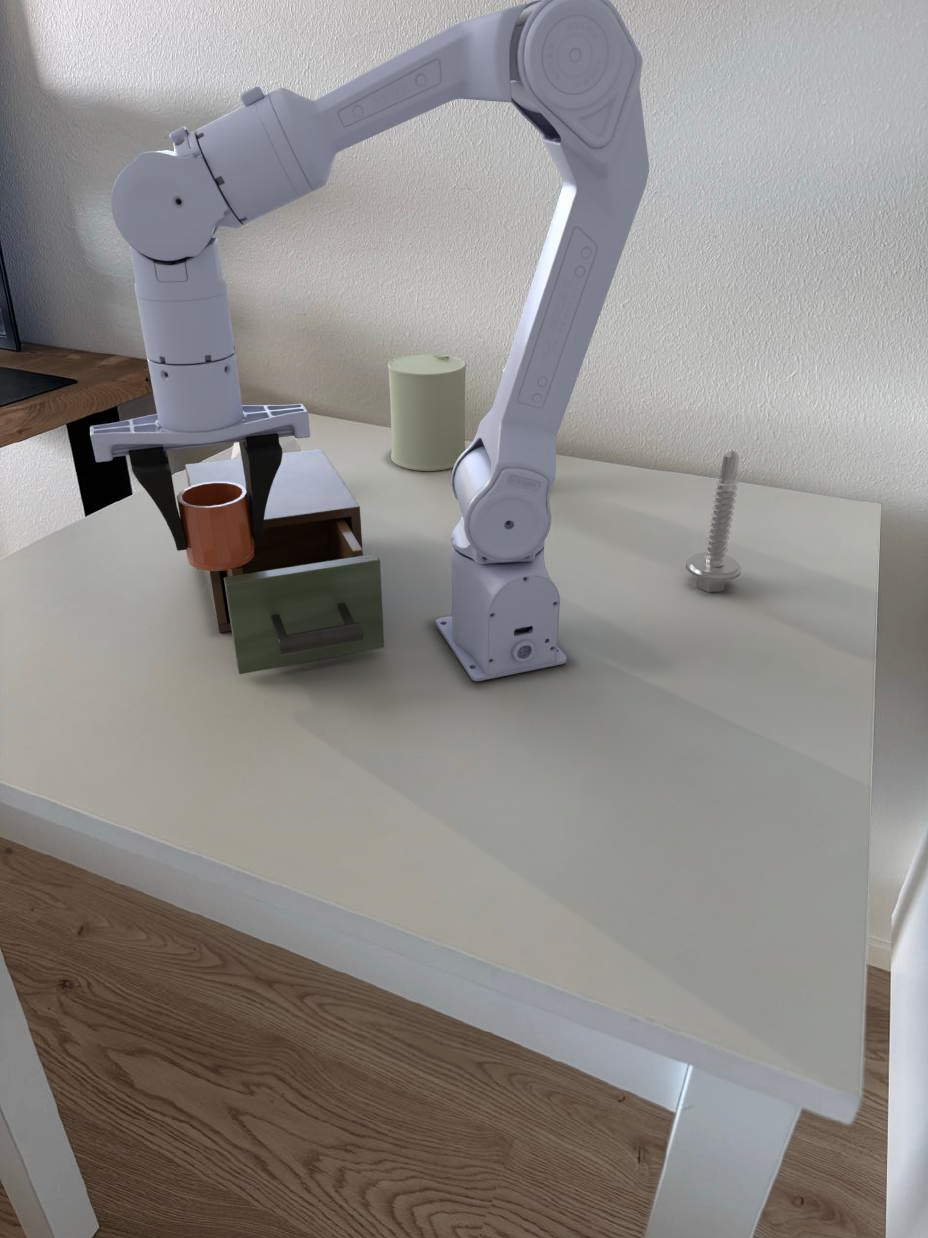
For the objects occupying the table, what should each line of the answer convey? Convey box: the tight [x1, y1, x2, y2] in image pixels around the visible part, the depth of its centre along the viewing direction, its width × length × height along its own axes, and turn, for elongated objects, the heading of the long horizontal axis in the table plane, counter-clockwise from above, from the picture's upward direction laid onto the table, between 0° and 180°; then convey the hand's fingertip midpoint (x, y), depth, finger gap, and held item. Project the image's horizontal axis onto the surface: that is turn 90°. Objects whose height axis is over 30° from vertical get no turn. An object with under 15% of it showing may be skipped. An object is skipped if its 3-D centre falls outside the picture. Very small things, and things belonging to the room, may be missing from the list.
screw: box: [685, 450, 742, 593], centre depth 79 cm, size 13×5×5 cm
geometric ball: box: [230, 436, 302, 459], centre depth 100 cm, size 8×8×8 cm
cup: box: [176, 481, 255, 571], centre depth 67 cm, size 5×5×5 cm
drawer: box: [222, 518, 385, 675], centre depth 72 cm, size 18×11×8 cm, turn 20°
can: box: [387, 353, 467, 472], centre depth 108 cm, size 9×9×12 cm
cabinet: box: [184, 448, 363, 634], centre depth 81 cm, size 15×13×10 cm
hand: (219, 539), depth 67 cm, fingers closed on cup, 5 cm apart
